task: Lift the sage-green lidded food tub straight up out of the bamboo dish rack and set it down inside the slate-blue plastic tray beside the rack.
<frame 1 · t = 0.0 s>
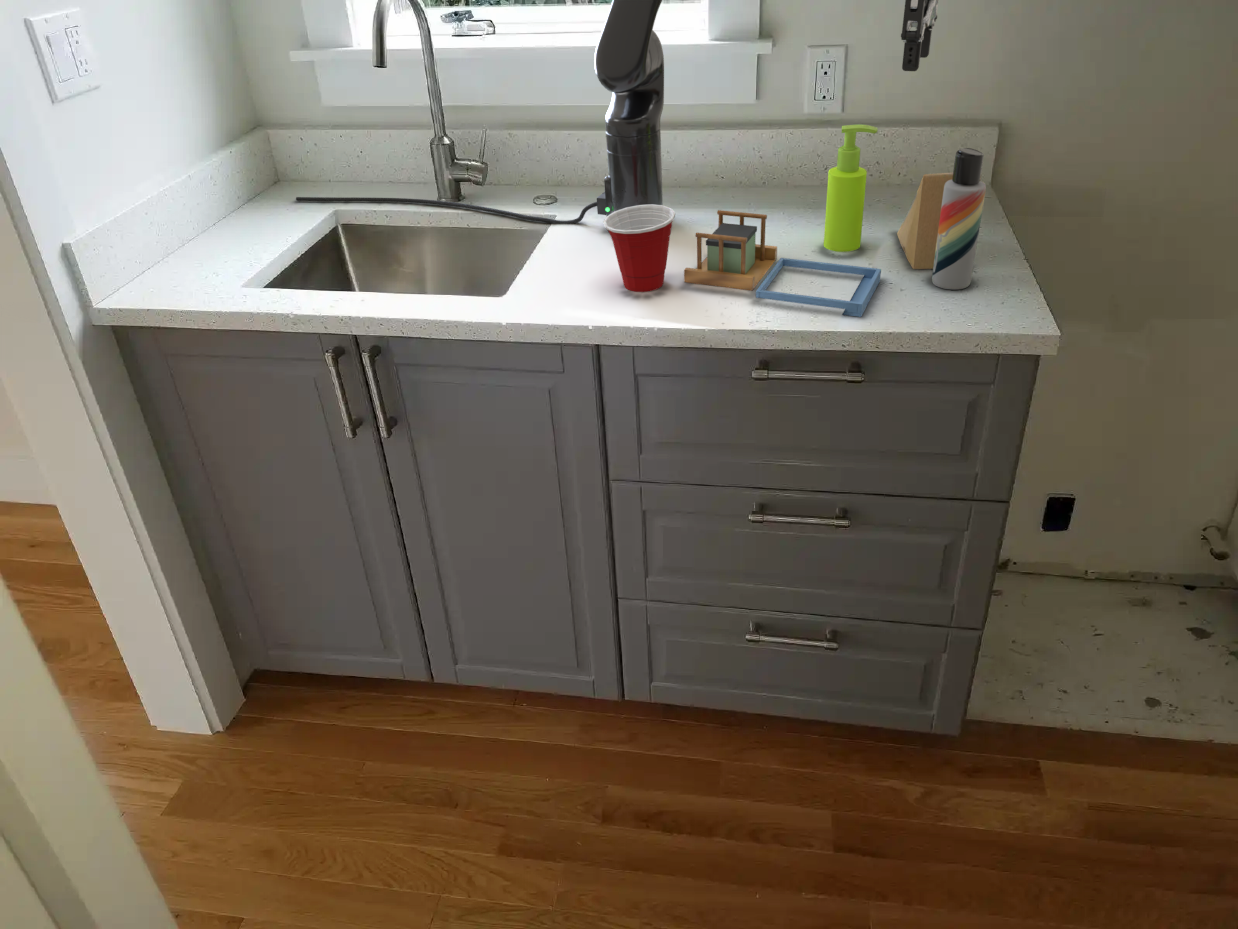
hand: (915, 63, 141), 29 cm above the worktop, tool pointing down, fingers open, 8 cm apart
lotion bottle: (950, 283, 148), on the worktop
sandwich container: (930, 251, 158), on the worktop
plastic cup: (642, 290, 152), on the worktop
dish rack: (731, 275, 154), on the worktop
tub: (731, 269, 153), point 1 cm above the worktop, touching dish rack
soap dispenser: (844, 251, 160), on the worktop
tray: (818, 291, 147), on the worktop
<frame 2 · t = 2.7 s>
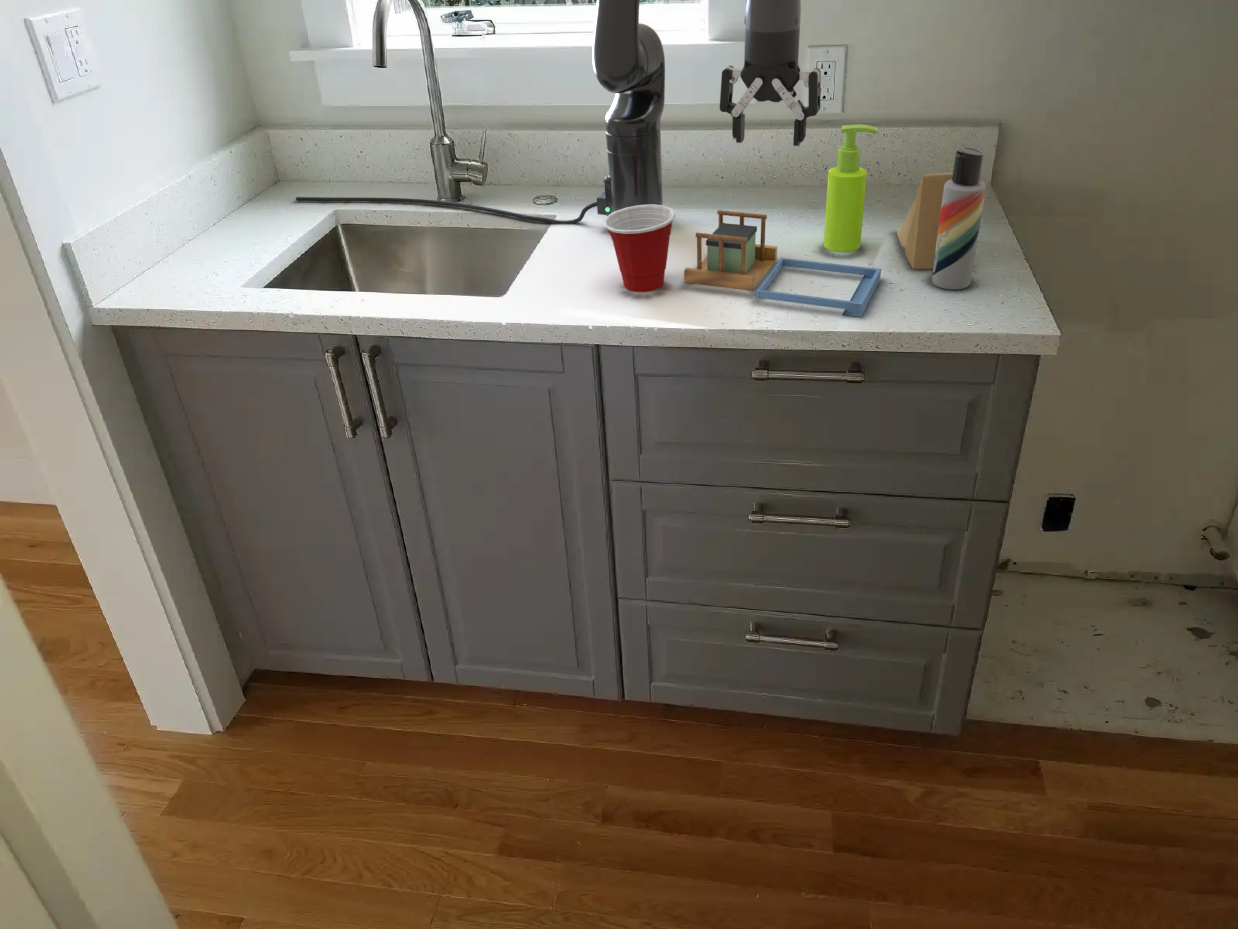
hand: (768, 142, 144), 20 cm above the worktop, tool pointing down, fingers open, 8 cm apart
nothing on the worktop moved.
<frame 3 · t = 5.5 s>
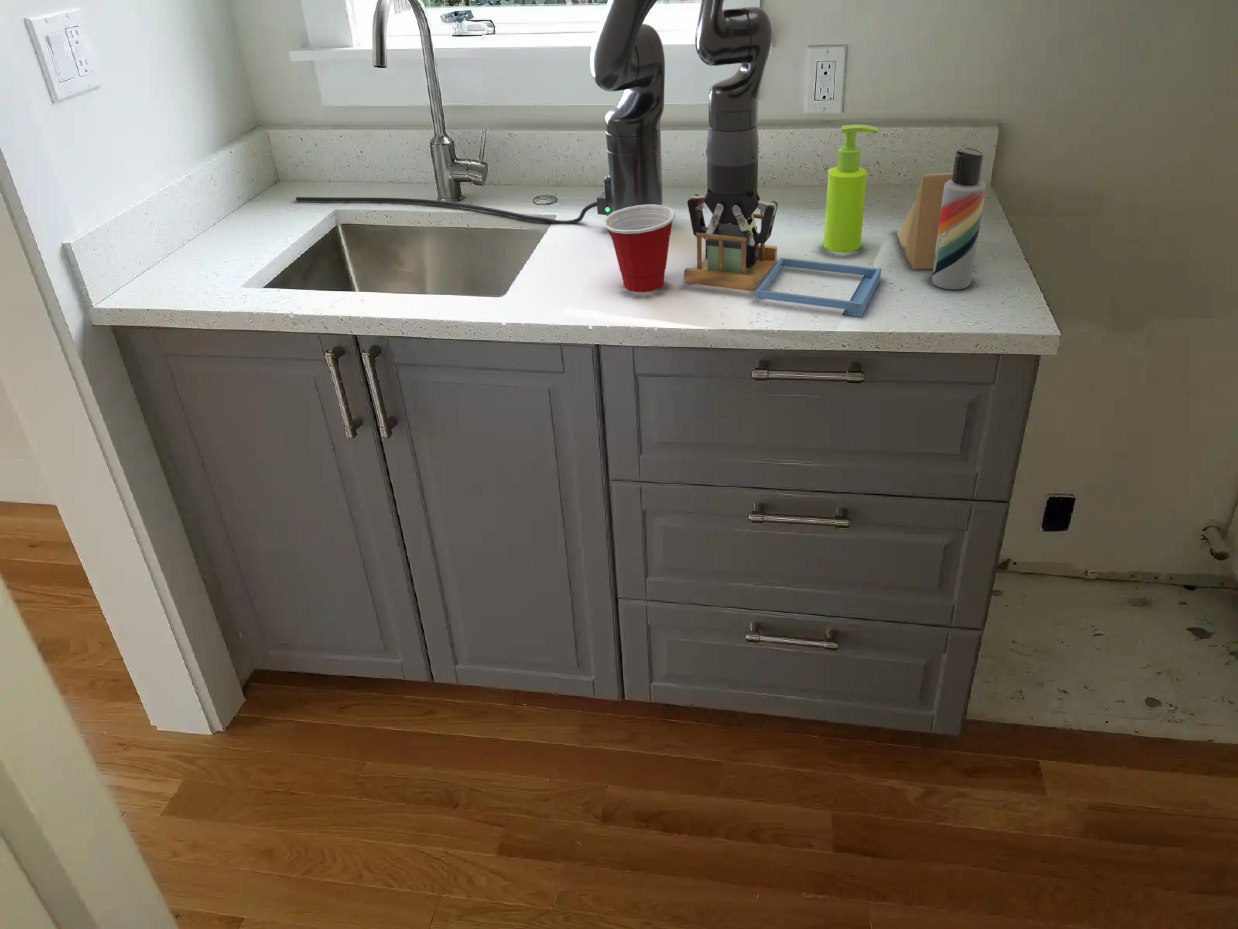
hand: (731, 263, 153), 2 cm above the worktop, tool pointing down, fingers closed on tub, 5 cm apart
tub: (731, 269, 153), point 1 cm above the worktop, touching dish rack, gripper
everything else where it was.
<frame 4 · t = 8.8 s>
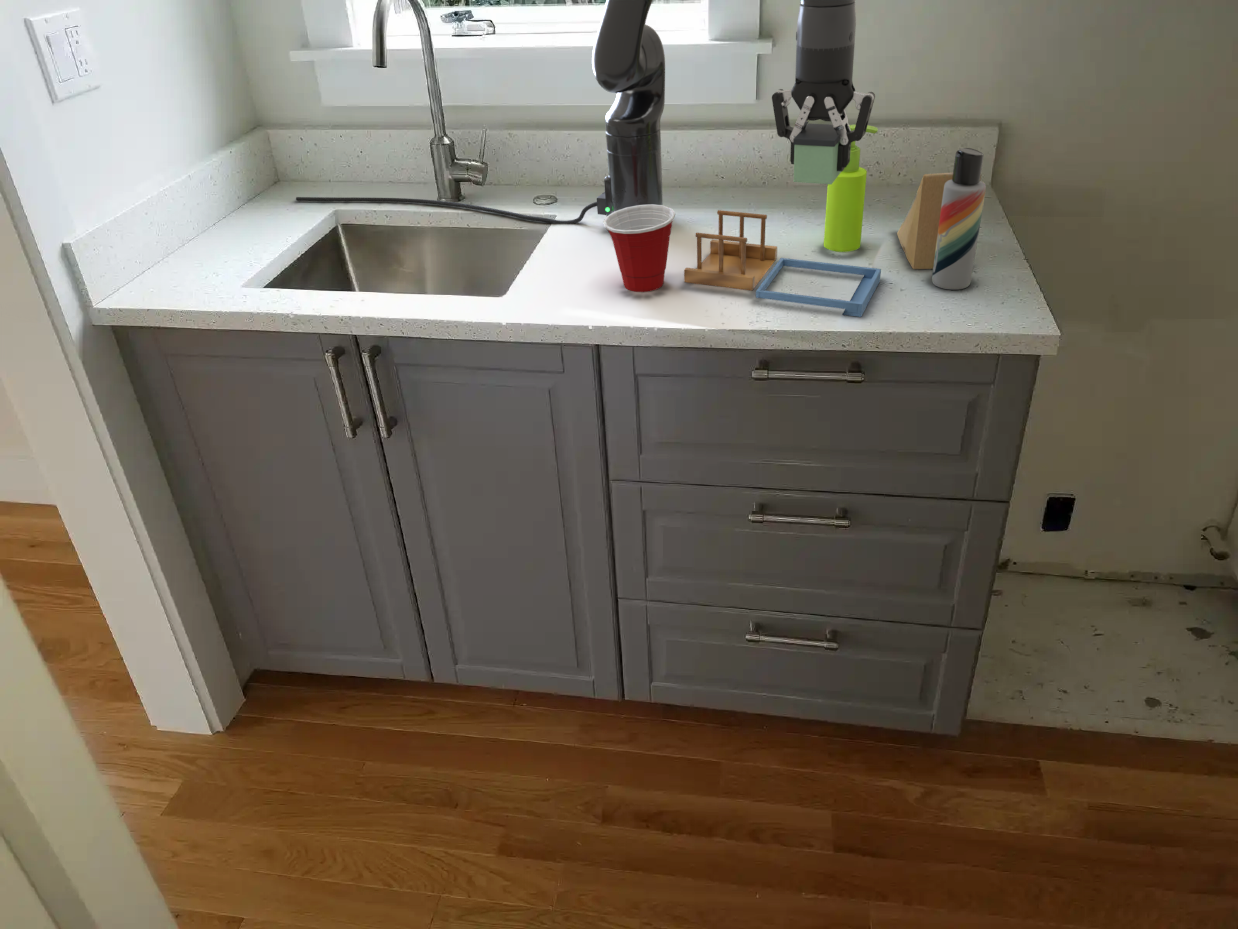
hand: (819, 167, 137), 19 cm above the worktop, tool pointing down, fingers closed on tub, 5 cm apart
tub: (819, 174, 138), point 18 cm above the worktop, touching gripper
everything else where it was.
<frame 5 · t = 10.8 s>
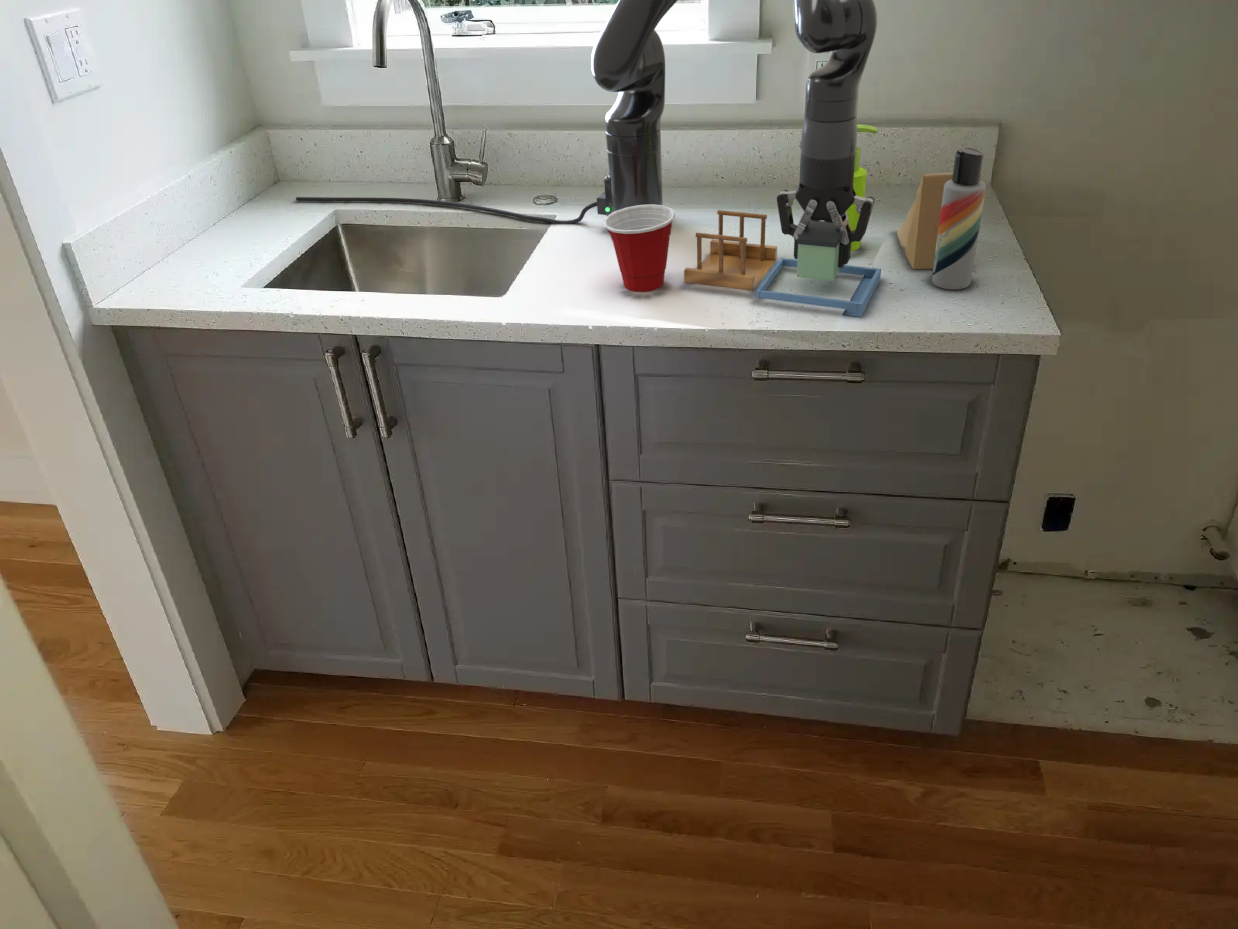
hand: (821, 263, 145), 5 cm above the worktop, tool pointing down, fingers closed on tub, 5 cm apart
tub: (821, 269, 145), point 4 cm above the worktop, touching gripper
everything else where it was.
when the fingers open (1 cm above the worktop, at t = 12.3 s): tub stays where it is, resting on tray.
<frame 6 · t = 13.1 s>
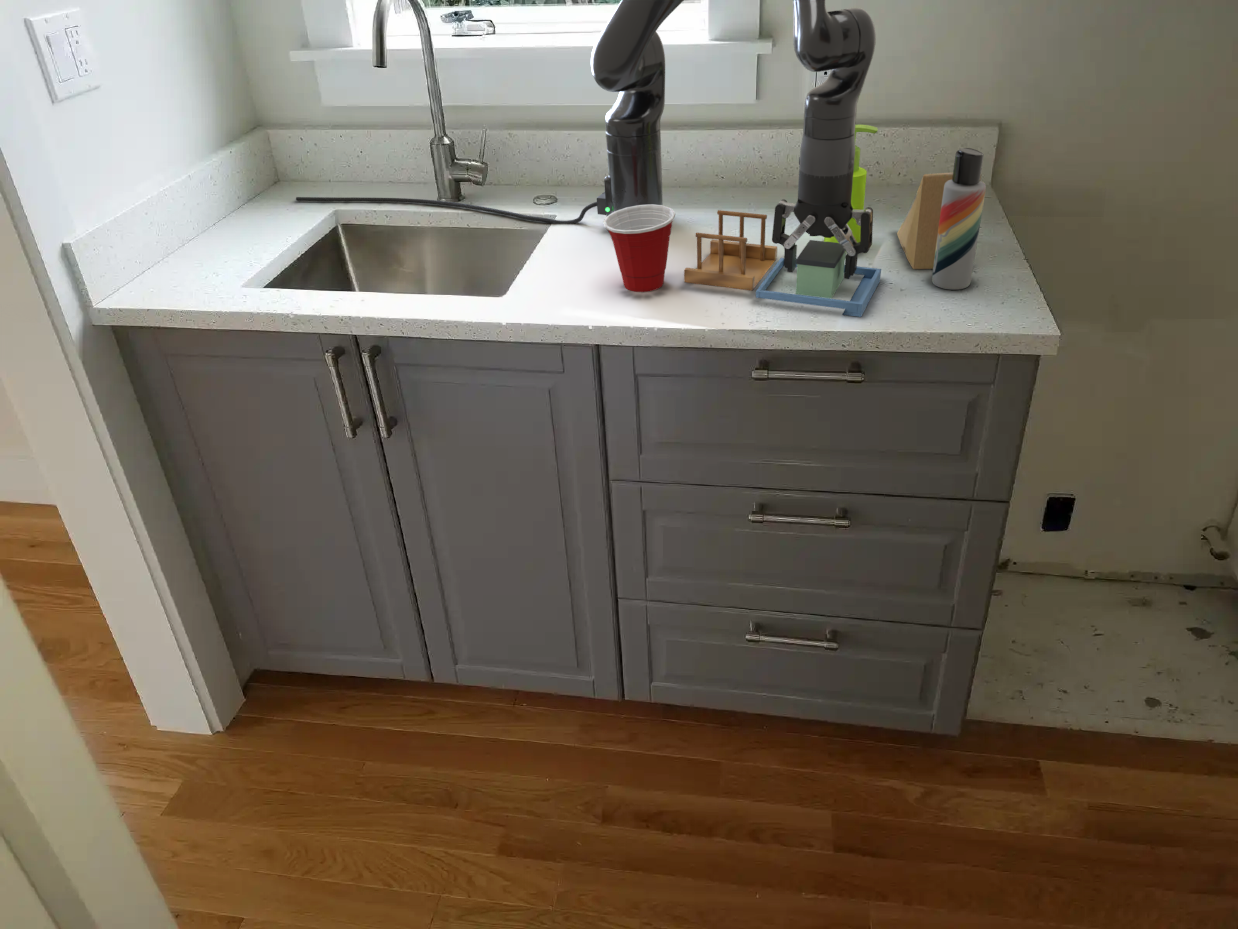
hand: (819, 273, 146), 3 cm above the worktop, tool pointing down, fingers open, 8 cm apart
tub: (819, 288, 147), resting on tray
everything else where it was.
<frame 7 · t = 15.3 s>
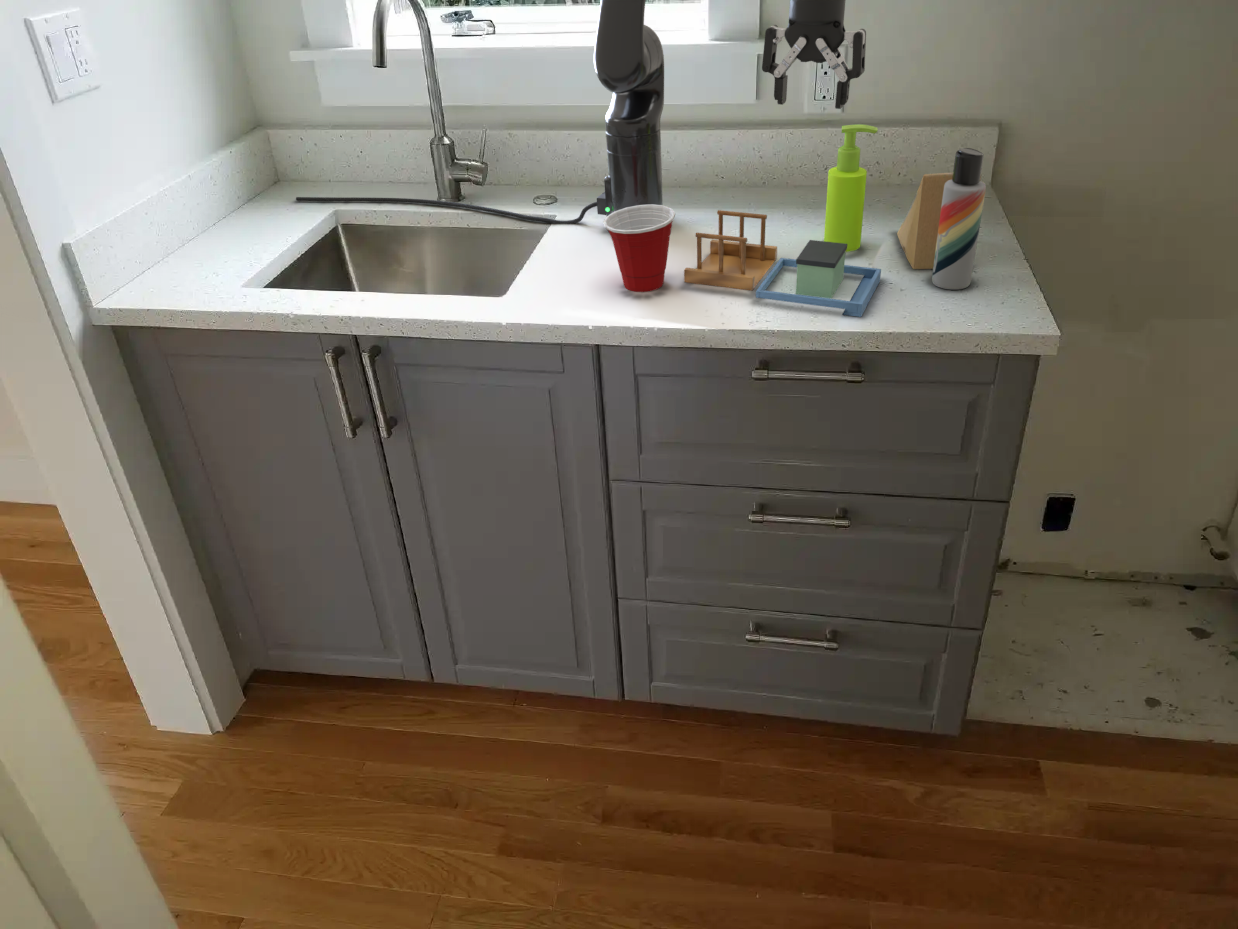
hand: (810, 105, 141), 25 cm above the worktop, tool pointing down, fingers open, 8 cm apart
nothing on the worktop moved.
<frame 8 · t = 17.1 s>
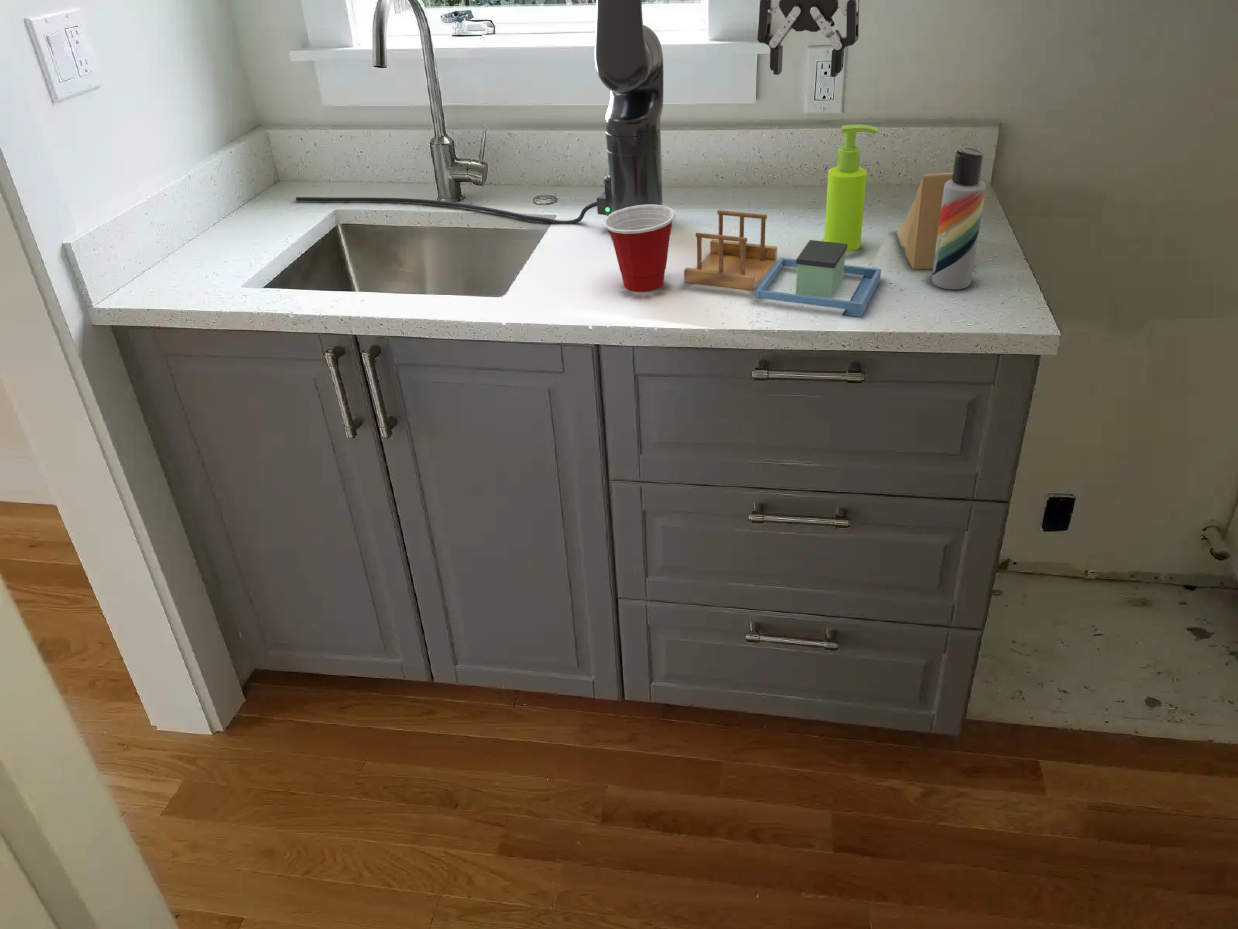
hand: (805, 74, 144), 28 cm above the worktop, tool pointing down, fingers open, 8 cm apart
nothing on the worktop moved.
at the end: tub inside the target area in the tray (0.1 cm from its centre), point 0.5 cm above the tray's base; tub tilted 0°; the gripper is holding nothing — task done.
